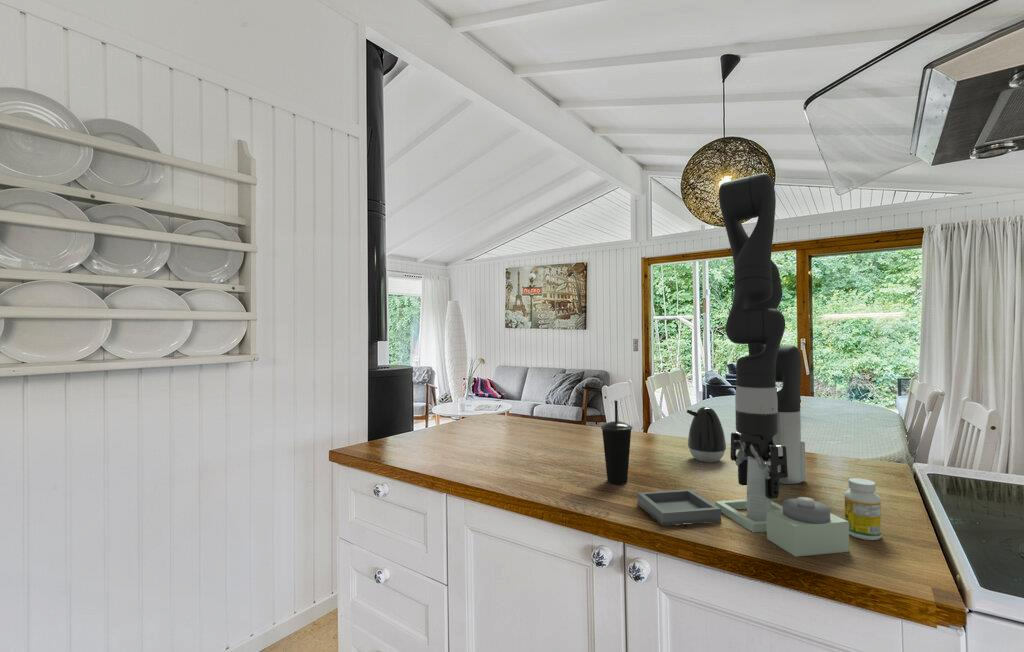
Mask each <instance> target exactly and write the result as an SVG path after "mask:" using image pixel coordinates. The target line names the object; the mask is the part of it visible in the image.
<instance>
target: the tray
mask: <svg viewBox="0 0 1024 652" xmlns="http://www.w3.org/2000/svg"><path fill="white" fill-rule="evenodd" d="M637 505H638V506H639V507H640V508H641V507H642V508H643V511H645V513H647V512H648V513H649V514H650V515H649V514H648V513H647V514H648V515H649V516H650V517H651V518H653V519H654V520H655V519H656V520H657V523H659V524H660V525H661V524H662V525H663V526H662V525H661V526H662V527H669V526H668V525H675V526H677V525H676V524H683V523H700V524H709V523H708V522H713V523H720V522H721V523H722V512H721V509H720V508H719V507H717V506H716V505H715V504H714V503H712V502H711V501H709V500H708V499H706V498H705V497H703V496H701V495H699V494H698V493H696V492H695V491H693V490H691V489H690V488H688V489H687V488H686V489H676V490H675V489H674V490H661V491H660V490H659V491H646V492H645V491H642V492H637ZM642 508H641V509H642ZM705 522H706V523H705Z"/></svg>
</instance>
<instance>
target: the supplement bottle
mask: <svg viewBox="0 0 1024 652" xmlns="http://www.w3.org/2000/svg"><path fill="white" fill-rule="evenodd" d="M876 484H877V483H876V482H875V481H873V480H870V479H865V478H859V477H857V478H856V477H853V478H849V479H848V485H847V486H848V488H849V489H847V490H846V491H845V492H844V495H843V496H844V520H846V521H848V522H849V536H852V537H854V538H857V539H861V540H865V541H866V540H867V541H877V540H880V539H881V538H882V502H881V497H880V496H879V495H878V494H877V493H875V492H876V490H877V488H876V487H877V486H876Z"/></svg>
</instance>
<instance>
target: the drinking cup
mask: <svg viewBox="0 0 1024 652" xmlns="http://www.w3.org/2000/svg"><path fill="white" fill-rule="evenodd" d="M618 405H619V404H618V400H614V421H608V422H606V423H605V424H601V425H600V429H601V431H602V442H603V450H604V451H603V453H604V461H605V470H606V479H607V482H608V483H609V484H612V485H625V484H627V483H628V478H629V477H628V475H629V463H630V462H629V461H630V451H631V449H630V448H631V438H632V436H631V435H632V430H633V426H632V425H630V424H628V423H626V422H623V421H619V420H618V418H619V415H618V413H619V410H618V409H619V408H618Z"/></svg>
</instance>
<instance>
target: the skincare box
mask: <svg viewBox="0 0 1024 652" xmlns="http://www.w3.org/2000/svg"><path fill="white" fill-rule="evenodd" d="M763 461H765V462H771V460H770V459H769V460H763ZM768 468H769V471H770V472H771V466H770V467H768ZM765 478H766V477H765V474H764V472H763V469H762V468H760V467H759V466H758V463H757V461H756V459H755V458H753V457H750V456H748V469H747V485H746V499H747V509H746V516H747V517H748V518H750V519H752V520H753V521H767V519H766V511H768V510H771V501H772V499H769V498H767V497H766V495H765Z"/></svg>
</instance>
